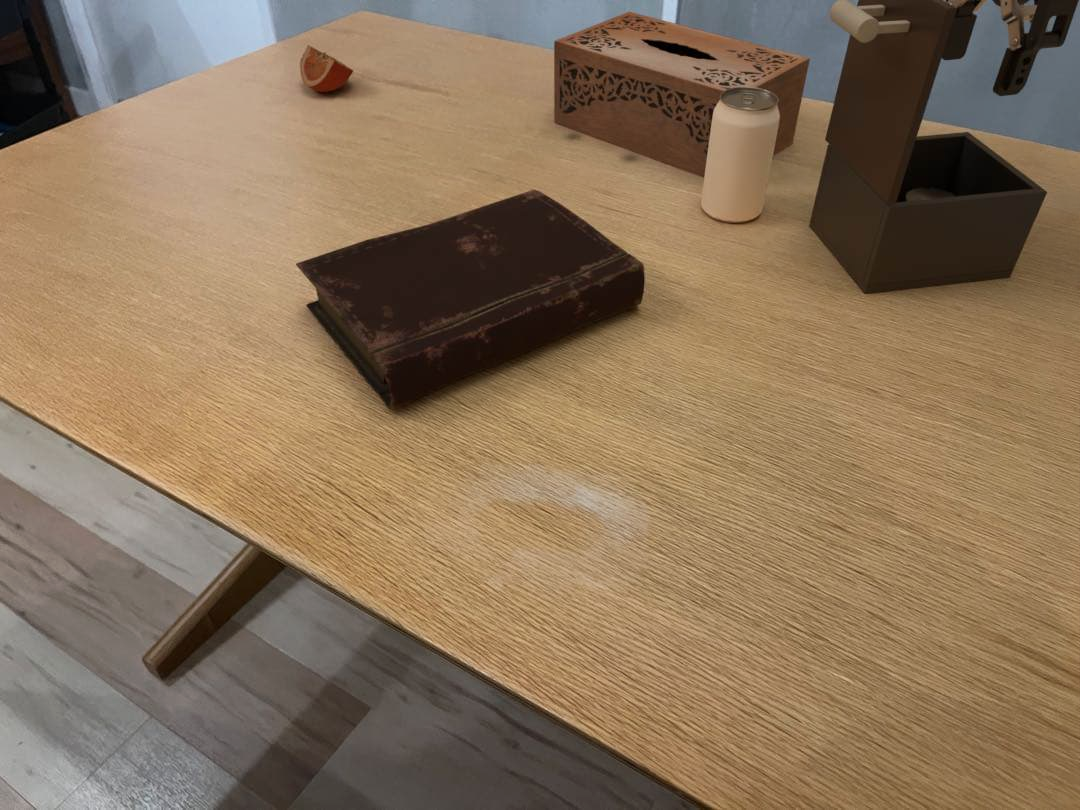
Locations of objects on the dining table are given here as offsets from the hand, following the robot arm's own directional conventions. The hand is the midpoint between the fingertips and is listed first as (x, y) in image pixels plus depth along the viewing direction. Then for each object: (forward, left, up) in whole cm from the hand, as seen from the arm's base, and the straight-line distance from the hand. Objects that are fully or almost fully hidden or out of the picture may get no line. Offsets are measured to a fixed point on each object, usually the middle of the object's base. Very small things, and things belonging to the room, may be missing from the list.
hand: (976, 75), depth 72 cm
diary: (+46, +4, -16) cm, 49 cm away
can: (+17, -9, -16) cm, 25 cm away
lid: (+10, +2, +1) cm, 10 cm away
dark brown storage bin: (+3, +2, -16) cm, 17 cm away
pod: (+1, +1, -15) cm, 15 cm away
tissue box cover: (+18, -29, -16) cm, 38 cm away
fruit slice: (+60, -52, -16) cm, 81 cm away
